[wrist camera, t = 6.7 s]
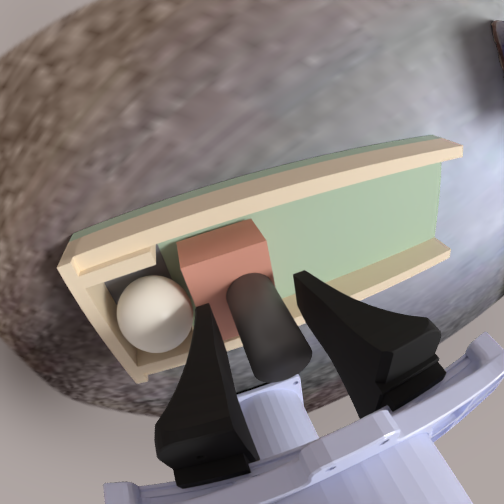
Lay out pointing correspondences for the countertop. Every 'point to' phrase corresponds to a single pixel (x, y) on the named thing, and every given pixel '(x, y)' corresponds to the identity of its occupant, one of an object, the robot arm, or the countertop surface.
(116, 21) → the countertop surface
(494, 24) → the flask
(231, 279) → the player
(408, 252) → the pitch
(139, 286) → the ball
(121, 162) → the countertop surface
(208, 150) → the countertop surface
